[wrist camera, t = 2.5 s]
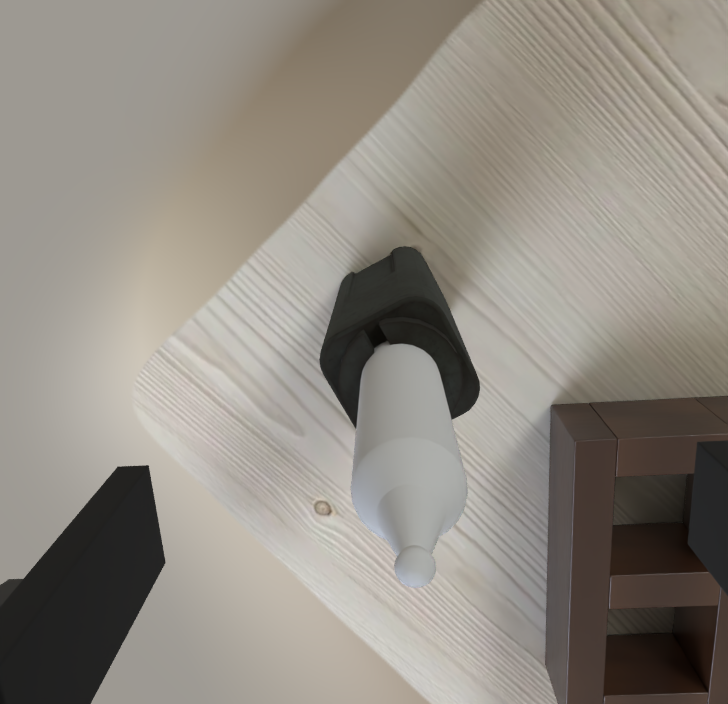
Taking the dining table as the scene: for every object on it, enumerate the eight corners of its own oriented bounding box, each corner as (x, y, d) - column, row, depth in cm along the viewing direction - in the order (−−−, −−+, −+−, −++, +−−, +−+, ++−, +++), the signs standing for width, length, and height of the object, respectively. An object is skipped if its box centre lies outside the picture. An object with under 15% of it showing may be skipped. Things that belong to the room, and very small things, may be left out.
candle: (375, 359, 38) (365, 716, 14) (332, 282, 37) (240, 532, 13) (455, 318, 37) (586, 624, 13) (413, 238, 36) (475, 418, 12)
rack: (544, 664, 44) (564, 727, 39) (550, 404, 39) (574, 440, 34) (704, 659, 44) (743, 721, 39) (732, 395, 38) (782, 430, 33)
